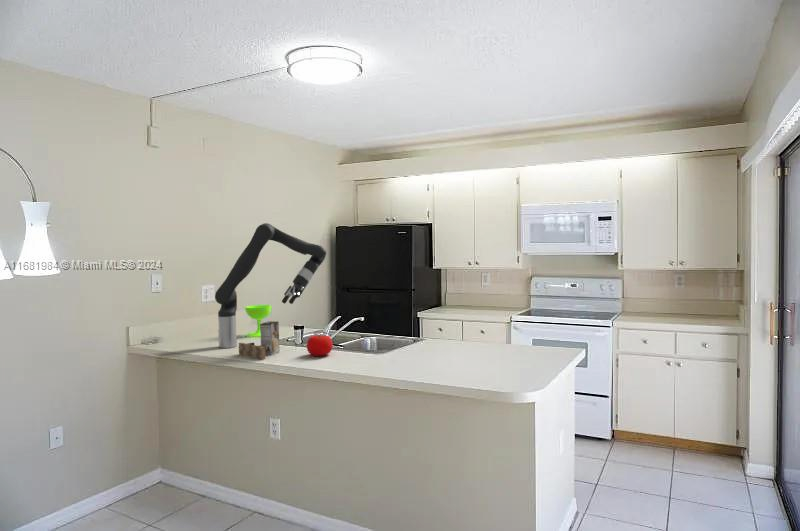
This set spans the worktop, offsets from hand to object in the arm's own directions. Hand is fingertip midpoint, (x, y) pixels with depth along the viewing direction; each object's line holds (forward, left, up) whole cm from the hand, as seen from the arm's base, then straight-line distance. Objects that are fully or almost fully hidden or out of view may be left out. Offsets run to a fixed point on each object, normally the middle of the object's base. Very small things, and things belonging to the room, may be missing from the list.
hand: (286, 302), depth 299 cm
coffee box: (-1, -10, -25) cm, 27 cm away
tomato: (+24, +2, -26) cm, 35 cm away
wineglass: (-57, +19, -25) cm, 66 cm away
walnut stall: (-1, -19, -25) cm, 32 cm away
